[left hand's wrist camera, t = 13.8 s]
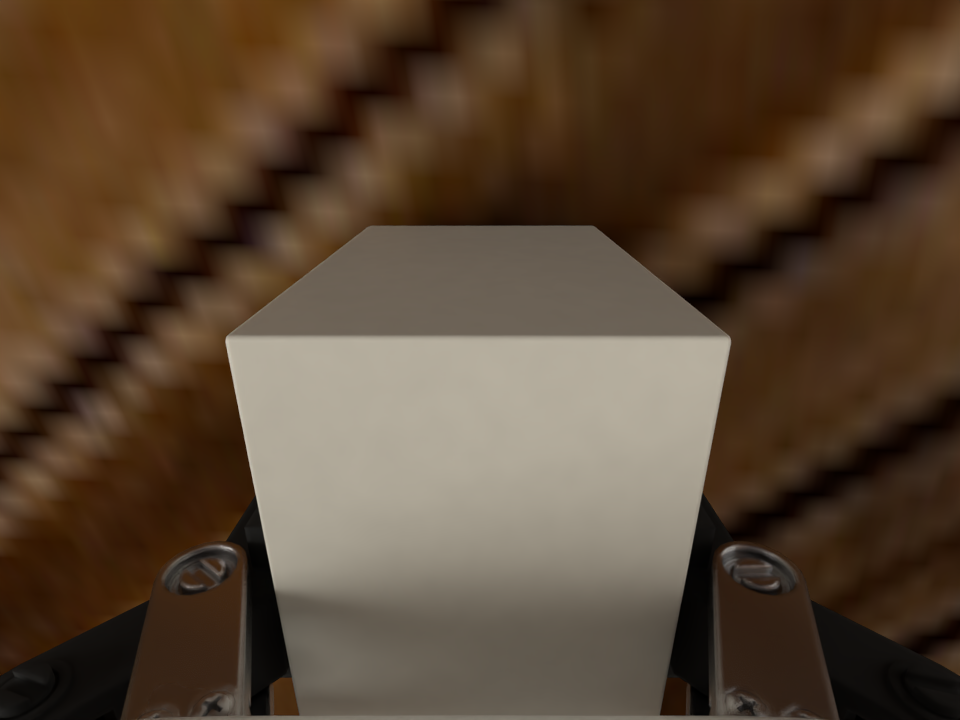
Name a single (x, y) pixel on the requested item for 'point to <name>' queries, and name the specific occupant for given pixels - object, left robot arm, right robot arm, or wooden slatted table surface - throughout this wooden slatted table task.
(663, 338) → the post
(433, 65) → the wooden slatted table surface
